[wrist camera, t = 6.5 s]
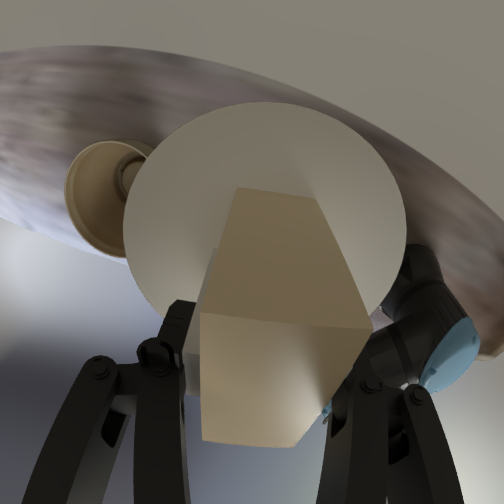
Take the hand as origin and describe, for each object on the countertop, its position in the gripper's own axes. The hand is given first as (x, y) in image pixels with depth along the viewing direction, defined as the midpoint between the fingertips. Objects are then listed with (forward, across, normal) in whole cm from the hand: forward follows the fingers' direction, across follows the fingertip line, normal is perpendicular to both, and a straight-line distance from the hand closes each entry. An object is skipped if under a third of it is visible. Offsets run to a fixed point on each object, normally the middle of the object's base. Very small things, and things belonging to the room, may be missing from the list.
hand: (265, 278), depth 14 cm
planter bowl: (+29, +19, +4) cm, 34 cm away
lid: (+3, 0, 0) cm, 3 cm away
